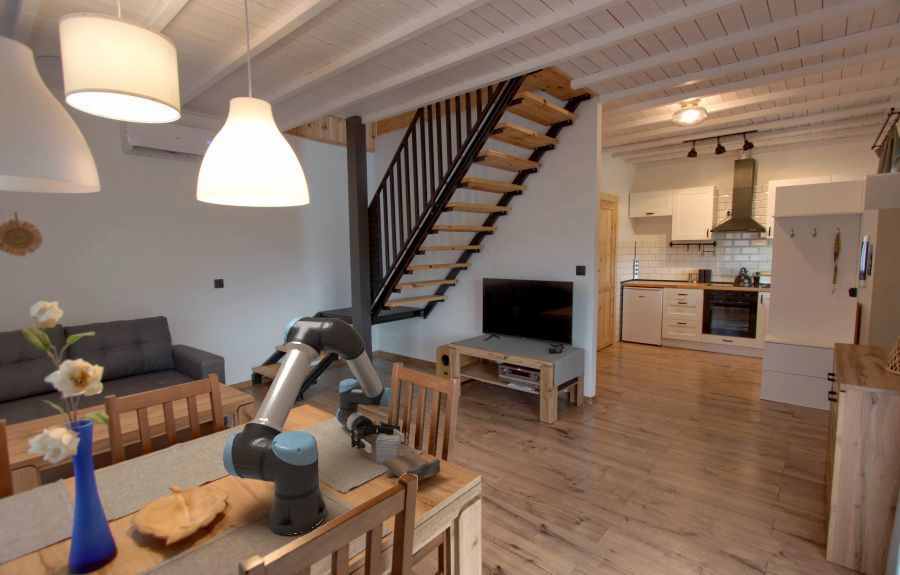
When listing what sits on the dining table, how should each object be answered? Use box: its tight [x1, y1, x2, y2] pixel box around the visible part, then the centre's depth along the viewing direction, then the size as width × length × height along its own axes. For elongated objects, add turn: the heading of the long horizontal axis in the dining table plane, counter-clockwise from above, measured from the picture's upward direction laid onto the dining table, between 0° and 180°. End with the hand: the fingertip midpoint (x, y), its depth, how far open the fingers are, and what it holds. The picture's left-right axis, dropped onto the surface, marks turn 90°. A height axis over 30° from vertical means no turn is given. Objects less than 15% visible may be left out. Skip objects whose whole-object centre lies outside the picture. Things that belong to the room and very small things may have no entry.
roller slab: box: [382, 451, 441, 482], centre depth 141 cm, size 13×16×6 cm
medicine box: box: [375, 434, 402, 465], centre depth 150 cm, size 8×4×9 cm, turn 84°
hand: (387, 443), depth 152 cm, fingers open, 13 cm apart
